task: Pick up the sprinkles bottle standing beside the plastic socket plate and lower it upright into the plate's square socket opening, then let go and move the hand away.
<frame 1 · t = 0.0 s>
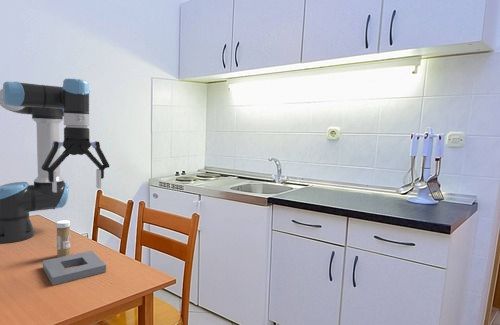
hand: (77, 189, 110), 28 cm above the table, tool pointing down, fingers open, 13 cm apart
socket plate: (74, 269, 112), on the table
sprinkles bottle: (63, 256, 123), on the table
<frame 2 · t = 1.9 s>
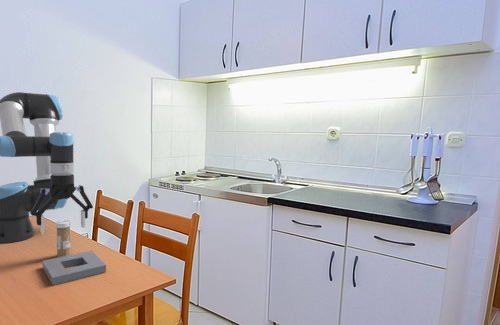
hand: (63, 230, 122), 10 cm above the table, tool pointing down, fingers open, 13 cm apart
nothing on the table moved.
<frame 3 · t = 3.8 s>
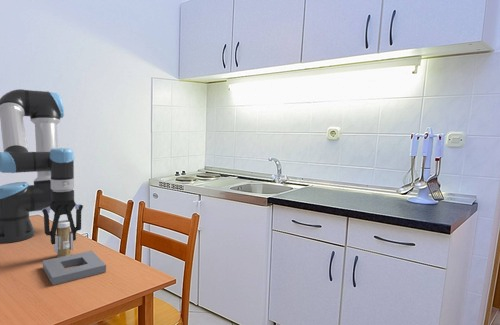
hand: (63, 250, 123), 2 cm above the table, tool pointing down, fingers closed on sprinkles bottle, 4 cm apart
sprinkles bottle: (63, 256, 123), on the table, touching gripper
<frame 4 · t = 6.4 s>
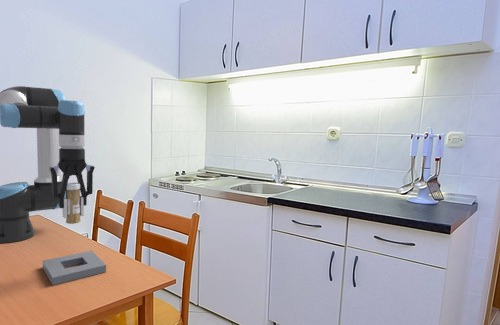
hand: (73, 216, 110), 19 cm above the table, tool pointing down, fingers closed on sprinkles bottle, 4 cm apart
sprinkles bottle: (73, 222, 110), point 17 cm above the table, touching gripper
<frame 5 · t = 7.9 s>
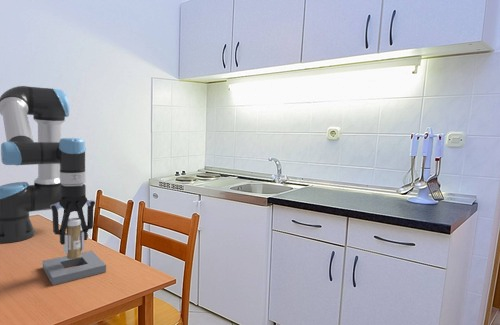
hand: (73, 251, 111), 7 cm above the table, tool pointing down, fingers closed on sprinkles bottle, 4 cm apart
sprinkles bottle: (74, 257, 112), point 4 cm above the table, touching gripper
when the fingers open (4 cm above the table, at t = 9.1 s): sprinkles bottle drops 2 cm, resting in socket plate.
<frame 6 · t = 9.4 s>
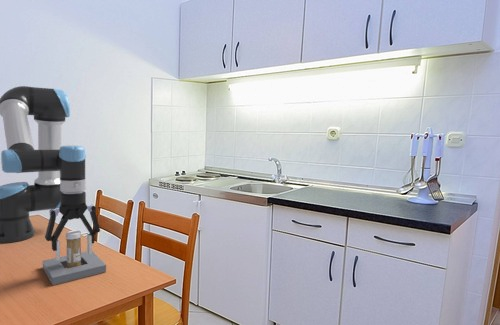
hand: (74, 255, 111), 5 cm above the table, tool pointing down, fingers open, 9 cm apart
sprinkles bottle: (74, 270, 112), resting in socket plate
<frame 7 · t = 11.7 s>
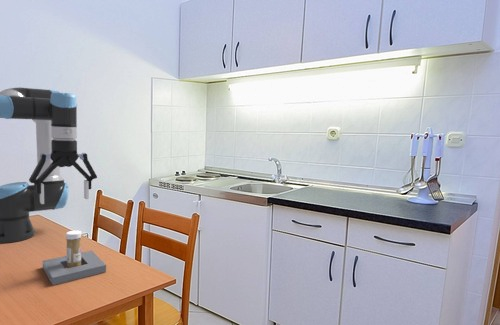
hand: (65, 200, 112), 24 cm above the table, tool pointing down, fingers open, 13 cm apart
nothing on the table moved.
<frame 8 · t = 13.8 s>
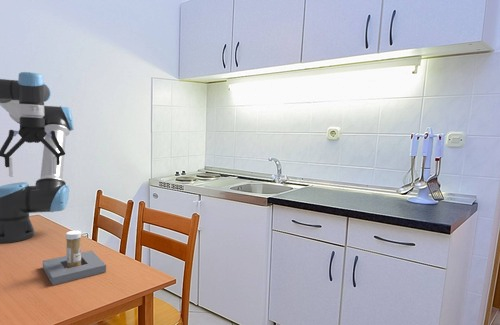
hand: (33, 175, 119), 31 cm above the table, tool pointing down, fingers open, 13 cm apart
nothing on the table moved.
at the end: sprinkles bottle 0.0 cm off-centre on the socket plate, point 0.0 cm above the socket plate's base; sprinkles bottle tilted 0°; the gripper is holding nothing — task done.
